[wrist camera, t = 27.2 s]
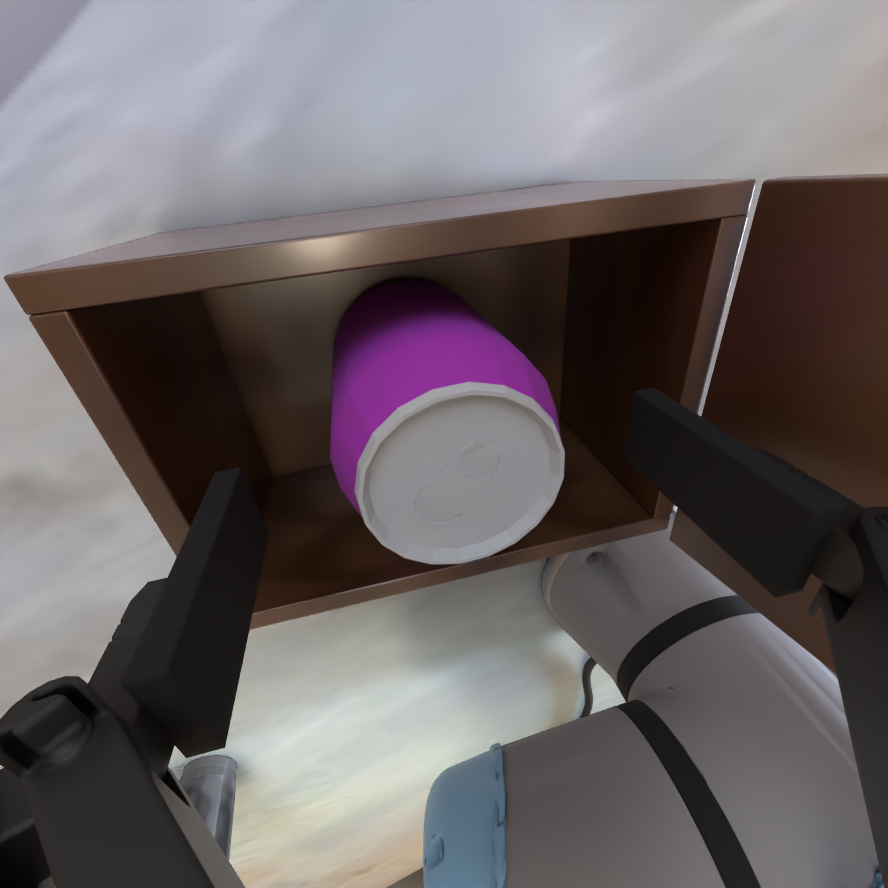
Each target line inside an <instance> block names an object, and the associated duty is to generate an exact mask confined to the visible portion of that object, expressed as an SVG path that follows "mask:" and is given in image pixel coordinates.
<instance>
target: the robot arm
mask: <svg viewBox="0 0 888 888" xmlns="http://www.w3.org/2000/svg"><path fill="white" fill-rule="evenodd" d="M624 458H625V459H626V460H627V461H628V462H629V463H630V464H631V465H632V466H633V467H634V468H635V469H636V470H638V471H639V472H640V473H641V474H642V475H643V476H644V477H645V478H646V479H647V480H648V481H649V482H651V483H652V484H653V485H654V486H655V487H656V488H657V489H658V490H659V491H660V492H661V493H662V494H663V495H665V496H666V497H667V498H668V499H669V500H670V501H671V502H672V503H673V504H674V507H673V511H672V514H671V518H670V522H669V526H668V528H667V529H665V530H661V531H657V532H653V533H648V534H644V535H640V536H636V537H632V538H628V539H624V540H619V541H615V542H611V543H607V544H603V545H599V546H595V547H590V548H586V549H582V550H578V551H574V552H570V553H566V554H561V555H557V556H553V557H550V558H549V560H548V562H547V564H546V567H545V570H544V573H543V577H542V592H543V596H544V599H545V601H546V603H547V605H548V607H549V609H550V611H551V613H552V615H553V616H554V618H555V619H556V620H557V622H558V623H559V624H560V626H561V627H562V628H563V629H564V630H565V631H566V632H567V633H568V634H569V635H570V636H571V637H572V638H573V639H574V640H575V641H576V642H577V643H578V644H579V645H580V646H581V647H582V648H583V649H584V650H585V651H586V652H587V653H588V654H589V655H590V656H591V657H590V658H589V659H588V660H587V662H586V664H585V666H584V670H583V675H582V681H583V687H584V692H585V706H584V709H583V712H582V714H581V716H580V718H579V719H577V720H574V721H571V722H568V723H566V724H563V725H560V726H557V727H554V728H551V729H549V730H546V731H543V732H540V733H537V734H534V735H531V736H529V737H526V738H523V739H520V740H517V741H514V742H511V743H509V744H506V745H503V746H501V745H500V744H499V743H497V744H494V745H492V746H491V747H490V750H489V751H487V752H485V753H483V754H480V755H478V756H475V757H473V758H471V759H468V760H466V761H464V762H461V763H459V764H456V765H454V766H452V767H449V768H448V769H446V770H445V771H443V772H442V773H441V774H440V775H439V776H438V777H437V779H436V780H435V782H434V783H433V785H432V787H431V790H430V793H429V796H428V799H427V804H426V809H425V820H424V839H423V871H424V888H888V507H878V506H876V507H869V508H864V507H862V506H860V505H859V504H857V503H855V502H854V501H852V500H850V499H849V498H847V497H845V496H844V495H842V494H840V493H839V492H837V491H835V490H834V489H832V488H830V487H829V486H827V485H825V484H824V483H822V482H820V481H818V480H817V479H815V478H813V477H809V476H808V474H807V473H805V472H803V471H802V470H800V469H798V468H794V466H793V465H792V464H790V463H788V462H787V461H785V460H783V459H782V458H780V457H778V456H777V455H774V454H771V453H768V452H766V451H763V450H760V449H757V448H751V447H749V446H748V445H746V444H745V443H743V442H741V441H740V440H738V439H736V438H735V437H733V436H731V435H730V434H728V433H727V432H725V431H723V430H722V429H720V428H718V427H717V426H715V425H714V424H712V423H710V422H709V421H707V420H705V419H704V418H702V417H701V416H699V415H697V414H696V413H694V412H692V411H691V410H689V409H688V408H686V407H684V406H683V405H681V404H679V403H678V402H676V401H675V400H673V399H671V398H670V397H668V396H666V395H665V394H663V393H662V392H660V391H658V390H657V389H655V388H650V389H645V390H640V391H635V392H634V393H633V400H632V406H631V413H630V420H629V427H628V434H627V441H626V448H625V454H624ZM677 508H679V509H680V510H681V511H682V512H683V513H684V514H685V515H686V516H687V517H688V518H689V519H690V520H692V521H693V522H694V523H695V524H696V525H697V526H698V527H699V528H700V529H701V530H702V531H703V532H705V533H706V534H707V535H708V536H709V537H710V538H711V539H712V540H713V541H714V542H715V543H716V544H718V545H719V546H720V547H721V548H722V549H723V550H724V551H725V552H726V553H727V554H728V555H729V556H730V557H732V558H733V559H734V560H735V561H736V562H737V563H738V564H739V565H740V566H741V567H742V568H743V569H745V570H746V571H747V572H748V573H749V574H750V575H751V576H752V577H753V578H754V579H755V580H756V581H757V582H759V583H760V584H761V585H762V586H763V587H764V588H765V589H766V590H767V591H768V592H769V593H770V594H772V595H773V596H774V597H775V598H777V597H781V596H784V595H788V594H792V593H795V592H799V591H802V590H803V588H804V586H805V584H806V582H807V580H808V578H809V576H810V574H811V573H812V574H813V575H814V576H816V577H817V578H818V579H819V580H820V581H822V582H823V583H822V585H821V587H820V589H819V591H818V592H817V594H816V596H815V598H814V600H813V602H812V604H811V605H810V607H809V611H808V615H810V616H814V615H815V613H816V611H817V610H818V608H820V607H822V611H823V616H822V619H824V620H825V624H826V629H827V633H828V638H829V642H830V647H831V651H832V656H833V660H834V665H835V669H836V674H837V675H836V674H835V673H834V672H833V671H831V670H830V669H829V668H828V667H826V666H825V665H824V664H823V663H821V662H820V661H819V660H818V659H817V658H815V657H814V656H813V655H812V654H810V653H809V652H808V651H807V650H805V649H804V648H803V647H802V646H800V645H799V644H798V643H797V642H795V641H794V640H793V639H792V638H790V637H789V636H788V635H787V634H785V633H784V632H783V631H782V630H780V629H779V628H778V627H777V626H776V625H774V624H773V623H772V622H771V621H769V620H768V619H767V618H766V617H764V616H763V615H762V614H761V613H759V612H758V611H757V610H756V609H754V608H753V607H752V606H751V605H749V604H748V603H747V602H746V601H744V600H743V599H742V598H741V597H740V596H738V595H737V594H736V593H735V592H733V591H732V590H731V589H730V588H728V587H727V586H726V585H725V584H723V583H722V582H721V581H720V580H718V579H717V578H716V577H715V576H713V575H712V574H711V573H710V572H708V571H707V570H706V569H705V568H703V567H702V566H701V565H700V564H699V563H697V562H696V561H695V560H694V559H692V558H691V557H690V556H689V555H687V554H686V553H685V552H684V551H682V550H681V549H680V548H679V547H677V546H676V545H675V544H674V543H672V542H671V541H670V539H669V538H670V535H671V531H672V527H673V523H674V519H675V515H676V512H677ZM268 537H269V532H268V530H267V527H266V525H265V522H264V520H263V518H262V515H261V513H260V511H259V508H258V506H257V504H256V501H255V499H254V497H253V494H252V492H251V490H250V487H249V485H248V482H247V480H246V478H245V475H244V473H243V471H242V468H241V467H240V468H234V469H229V470H224V471H219V472H215V473H214V476H213V478H212V480H211V482H210V484H209V487H208V489H207V491H206V493H205V496H204V498H203V500H202V502H201V505H200V507H199V509H198V511H197V513H196V516H195V518H194V520H193V522H192V525H191V527H190V529H189V531H188V534H187V536H186V538H185V540H184V542H183V545H182V547H181V549H180V551H179V554H178V556H177V558H176V560H175V563H174V565H173V567H172V569H171V571H170V574H169V576H168V578H164V579H160V580H155V581H151V582H148V583H147V584H146V585H145V586H144V587H143V588H142V589H141V590H140V591H139V593H138V594H137V595H136V596H135V597H134V598H133V599H132V600H131V601H130V603H129V605H128V607H127V609H126V611H125V613H124V615H123V617H122V619H121V624H120V625H118V626H117V628H116V630H115V632H114V634H113V636H112V641H111V642H109V644H108V646H107V648H106V650H105V652H104V654H103V656H102V658H101V660H100V661H99V663H98V665H97V667H96V669H95V671H94V673H93V675H92V677H91V679H90V681H89V683H88V684H87V683H86V682H85V681H84V680H82V679H81V678H80V677H77V676H65V677H62V678H58V679H55V680H52V681H49V682H47V683H45V684H43V685H42V686H40V687H38V688H36V689H35V690H33V691H31V692H29V693H28V694H27V695H26V696H24V697H23V698H22V699H21V700H19V701H18V702H17V703H16V704H14V705H13V706H12V707H11V708H10V709H9V710H8V711H7V712H6V714H5V715H4V716H3V717H2V718H1V719H0V765H2V766H3V767H5V768H3V769H1V770H0V888H245V886H244V885H243V883H242V881H241V880H240V878H239V877H238V875H237V873H236V872H235V870H234V869H233V867H232V865H231V864H230V862H229V861H228V859H227V857H226V856H225V854H224V853H223V851H222V849H221V848H220V846H219V845H218V843H217V841H216V840H215V838H214V837H213V835H212V833H211V832H210V830H209V829H208V827H207V825H206V824H205V822H204V821H203V819H202V817H201V816H200V814H199V813H198V811H197V809H196V808H195V806H194V805H193V803H192V801H191V800H190V798H189V797H188V795H187V793H186V792H185V790H184V789H183V787H182V785H181V784H180V782H179V781H178V779H177V777H176V776H175V774H174V773H173V772H172V771H171V769H170V768H169V767H168V765H169V761H170V758H171V755H172V751H173V748H174V745H175V746H176V747H177V748H178V749H179V750H180V752H181V753H182V754H183V755H184V756H185V757H186V758H188V757H192V756H196V755H199V754H203V753H207V752H210V751H214V750H218V749H221V748H225V745H226V740H227V735H228V730H229V725H230V720H231V716H232V711H233V706H234V701H235V696H236V691H237V687H238V682H239V677H240V672H241V667H242V663H243V658H244V653H245V648H246V643H247V638H248V634H249V629H250V624H251V619H252V614H253V609H254V605H255V600H256V595H257V590H258V585H259V581H260V576H261V571H262V566H263V561H264V556H265V552H266V547H267V542H268ZM597 663H598V664H599V665H600V666H601V667H602V668H603V669H604V670H605V671H606V672H607V673H608V674H609V675H610V676H611V677H612V679H613V680H614V682H615V683H616V685H617V687H618V688H619V690H620V692H621V694H622V696H623V697H624V699H625V701H626V703H623V704H620V705H618V706H614V707H611V708H608V709H606V710H603V711H600V712H597V713H594V714H591V715H590V713H591V709H592V704H593V695H592V689H591V682H590V676H591V672H592V669H593V668H594V666H595V665H596V664H597Z"/></svg>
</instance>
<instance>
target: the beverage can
mask: <svg viewBox="0 0 888 888" xmlns="http://www.w3.org/2000/svg"><path fill="white" fill-rule="evenodd" d="M330 459H331V462H332V465H333V468H334V471H335V474H336V477H337V480H338V483H339V486H340V489H341V490H342V491H343V493H344V494H345V495H346V497H347V498H348V499H349V501H350V502H351V503H352V505H353V506H354V507H355V509H356V510H357V511H358V513H359V514H360V515H361V517H362V518H363V520H364V522H365V525H366V526H367V527H368V529H369V530H370V531H371V532H372V533H373V535H374V536H375V537H376V538H377V539H378V541H379V542H380V543H381V544H382V545H383V546H385V547H386V548H388V549H390V550H392V551H393V552H395V553H397V554H399V555H400V556H402V557H404V558H406V559H410V560H415V561H419V562H424V563H428V564H461V563H465V562H469V561H473V560H477V559H481V558H485V557H489V556H491V555H493V554H495V553H497V552H499V551H501V550H503V549H505V548H507V547H509V546H511V545H513V544H515V543H516V542H517V541H518V540H520V539H521V538H522V537H523V536H525V535H526V534H527V533H528V532H529V531H531V530H532V529H533V528H534V527H536V526H537V525H538V524H539V522H540V521H541V520H542V518H543V517H544V516H545V514H546V513H547V512H548V510H549V509H550V508H551V506H552V505H553V504H554V502H555V499H556V497H557V494H558V492H559V489H560V486H561V484H562V481H563V479H564V460H565V451H564V448H563V445H562V442H561V436H560V430H559V423H558V417H557V411H556V407H555V404H554V401H553V398H552V395H551V393H550V390H549V387H548V384H547V381H546V379H545V378H544V377H543V376H542V375H541V373H540V372H539V371H538V370H537V369H536V368H535V367H534V366H533V364H532V363H531V362H530V361H529V360H528V359H527V358H526V356H525V355H524V354H523V353H521V352H520V351H519V350H518V349H517V348H516V347H515V346H514V345H513V344H512V343H510V342H509V341H508V340H507V339H506V338H505V337H504V336H503V335H502V334H501V333H499V332H498V331H497V330H496V329H495V328H494V327H493V326H492V325H491V324H490V323H488V322H487V321H486V320H485V319H484V318H483V317H482V316H481V315H480V314H479V313H477V312H476V311H475V310H474V309H473V308H472V307H471V306H470V305H469V304H468V303H466V302H465V301H464V300H463V299H462V298H461V297H460V296H458V295H456V294H455V293H453V292H451V291H449V290H447V289H445V288H443V287H442V286H440V285H438V284H436V283H432V282H426V281H420V280H413V279H405V280H400V281H394V282H388V283H384V284H382V285H380V286H378V287H376V288H375V289H373V290H371V291H369V292H367V293H366V294H364V295H362V296H361V297H360V298H359V299H358V300H357V302H356V303H355V304H354V305H353V306H352V307H351V308H350V309H349V311H348V312H347V313H346V314H345V316H344V318H343V321H342V323H341V325H340V328H339V330H338V332H337V335H336V337H335V340H334V349H333V366H332V407H331V447H330Z"/></svg>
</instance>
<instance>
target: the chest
mask: <svg viewBox="0 0 888 888" xmlns="http://www.w3.org/2000/svg"><path fill="white" fill-rule="evenodd" d="M755 185H756V180H755V179H717V180H633V181H578V182H570V183H561V184H553V185H545V186H537V187H529V188H520V189H512V190H504V191H496V192H488V193H479V194H471V195H463V196H455V197H447V198H438V199H430V200H422V201H414V202H406V203H397V204H389V205H381V206H373V207H365V208H356V209H348V210H340V211H332V212H324V213H316V214H307V215H299V216H291V217H283V218H275V219H266V220H258V221H250V222H242V223H234V224H225V225H217V226H209V227H201V228H193V229H184V230H176V231H168V232H161V233H157V234H154V235H150V236H146V237H143V238H139V239H136V240H132V241H128V242H125V243H121V244H117V245H114V246H110V247H107V248H103V249H99V250H96V251H92V252H88V253H85V254H81V255H78V256H74V257H70V258H67V259H63V260H60V261H56V262H52V263H49V264H45V265H41V266H38V267H34V268H31V269H27V270H23V271H20V272H16V273H12V274H9V275H6V276H5V277H4V279H5V281H6V283H7V284H8V286H9V288H10V289H11V291H12V292H13V294H14V296H15V297H16V299H17V300H18V302H19V304H20V305H21V307H22V308H23V310H24V312H25V313H26V314H28V315H31V316H30V317H29V319H30V321H31V323H32V324H33V326H34V327H35V329H36V331H37V332H38V334H39V335H40V337H41V339H42V340H43V342H44V343H45V345H46V347H47V348H48V350H49V352H50V353H51V355H52V356H53V358H54V360H55V361H56V363H57V364H58V366H59V368H60V369H61V371H62V372H63V374H64V376H65V377H66V379H67V380H68V382H69V384H70V385H71V387H72V389H73V390H74V392H75V393H76V395H77V397H78V398H79V400H80V401H81V403H82V405H83V406H84V408H85V409H86V411H87V413H88V414H89V416H90V418H91V419H92V421H93V422H94V424H95V426H96V427H97V429H98V430H99V432H100V434H101V435H102V437H103V438H104V440H105V442H106V443H107V445H108V447H109V448H110V450H111V451H112V453H113V455H114V456H115V458H116V459H117V461H118V463H119V464H120V466H121V467H122V469H123V471H124V472H125V474H126V476H127V477H128V479H129V480H130V482H131V484H132V485H133V487H134V488H135V490H136V492H137V493H138V495H139V496H140V498H141V500H142V501H143V503H144V505H145V506H146V508H147V509H148V511H149V513H150V514H151V516H152V517H153V519H154V521H155V522H156V524H157V525H158V527H159V529H160V530H161V532H162V534H163V535H164V537H165V538H166V540H167V542H168V543H169V545H170V546H171V548H172V550H173V551H174V553H175V554H176V556H178V554H179V551H180V549H181V547H182V545H183V542H184V540H185V538H186V536H187V534H188V531H189V529H190V527H191V525H192V522H193V520H194V518H195V516H196V513H197V511H198V509H199V507H200V505H201V502H202V500H203V498H204V496H205V493H206V491H207V489H208V487H209V484H210V482H211V480H212V478H213V476H214V473H215V472H219V471H224V470H229V469H234V468H240V467H241V468H242V471H243V473H244V475H245V478H246V480H247V482H248V485H249V487H250V490H251V492H252V494H253V497H254V499H255V501H256V504H257V506H258V508H259V511H260V513H261V515H262V518H263V520H264V522H265V525H266V527H267V530H268V532H269V537H268V542H267V547H266V552H265V556H264V561H263V566H262V571H261V576H260V581H259V585H258V590H257V595H256V600H255V605H254V609H253V614H252V619H251V624H250V629H249V630H251V629H255V628H259V627H263V626H267V625H271V624H276V623H280V622H284V621H288V620H292V619H296V618H300V617H305V616H309V615H313V614H317V613H321V612H325V611H329V610H334V609H338V608H342V607H346V606H350V605H354V604H358V603H363V602H367V601H371V600H375V599H379V598H383V597H387V596H392V595H396V594H400V593H404V592H408V591H412V590H416V589H421V588H425V587H429V586H433V585H437V584H441V583H445V582H450V581H454V580H458V579H462V578H466V577H470V576H474V575H479V574H483V573H487V572H491V571H495V570H499V569H503V568H508V567H512V566H516V565H520V564H524V563H528V562H532V561H537V560H541V559H545V558H549V557H553V556H557V555H561V554H566V553H570V552H574V551H578V550H582V549H586V548H590V547H595V546H599V545H603V544H607V543H611V542H615V541H619V540H624V539H628V538H632V537H636V536H640V535H644V534H648V533H653V532H657V531H661V530H665V529H667V528H668V526H669V522H670V518H671V514H672V511H673V507H674V504H673V503H672V502H671V501H670V500H669V499H668V498H667V497H666V496H665V495H663V494H662V493H661V492H660V491H659V490H658V489H657V488H656V487H655V486H654V485H653V484H652V483H651V482H649V481H648V480H647V479H646V478H645V477H644V476H643V475H642V474H641V473H640V472H639V471H638V470H636V469H635V468H634V467H633V466H632V465H631V464H630V463H629V462H628V461H627V460H626V459H625V458H624V454H625V448H626V441H627V434H628V427H629V420H630V413H631V406H632V400H633V393H634V392H635V391H640V390H645V389H650V388H655V389H657V390H658V391H660V392H662V393H663V394H665V395H666V396H668V397H670V398H671V399H673V400H675V401H676V402H678V403H679V404H681V405H683V406H684V407H686V408H688V409H689V410H691V411H692V412H694V413H696V414H697V413H698V410H699V406H700V402H701V398H702V394H703V390H704V386H705V382H706V378H707V374H708V370H709V367H710V363H711V359H712V355H713V351H714V347H715V343H716V339H717V335H718V331H719V327H720V323H721V320H722V316H723V312H724V308H725V304H726V300H727V296H728V292H729V288H730V284H731V280H732V277H733V273H734V269H735V265H736V261H737V257H738V253H739V249H740V245H741V241H742V237H743V233H744V230H745V226H746V222H747V218H748V216H747V215H745V214H748V212H749V209H750V205H751V201H752V197H753V193H754V189H755ZM405 279H413V280H420V281H426V282H432V283H436V284H438V285H440V286H442V287H443V288H445V289H447V290H449V291H451V292H453V293H455V294H456V295H458V296H460V297H461V298H462V299H463V300H464V301H465V302H466V303H468V304H469V305H470V306H471V307H472V308H473V309H474V310H475V311H476V312H477V313H479V314H480V315H481V316H482V317H483V318H484V319H485V320H486V321H487V322H488V323H490V324H491V325H492V326H493V327H494V328H495V329H496V330H497V331H498V332H499V333H501V334H502V335H503V336H504V337H505V338H506V339H507V340H508V341H509V342H510V343H512V344H513V345H514V346H515V347H516V348H517V349H518V350H519V351H520V352H521V353H523V354H524V355H525V356H526V358H527V359H528V360H529V361H530V362H531V363H532V364H533V366H534V367H535V368H536V369H537V370H538V371H539V372H540V373H541V375H542V376H543V377H544V378H545V379H546V381H547V384H548V387H549V390H550V393H551V395H552V398H553V401H554V404H555V407H556V411H557V417H558V423H559V430H560V436H561V442H562V445H563V448H564V451H565V460H564V479H563V481H562V484H561V486H560V489H559V492H558V494H557V497H556V499H555V502H554V504H553V505H552V506H551V508H550V509H549V510H548V512H547V513H546V514H545V516H544V517H543V518H542V520H541V521H540V522H539V524H538V525H537V526H536V527H534V528H533V529H532V530H531V531H529V532H528V533H527V534H526V535H525V536H523V537H522V538H521V539H520V540H518V541H517V542H516V543H515V544H513V545H511V546H509V547H507V548H505V549H503V550H501V551H499V552H497V553H495V554H493V555H491V556H489V557H485V558H481V559H477V560H473V561H469V562H465V563H461V564H428V563H424V562H419V561H415V560H410V559H406V558H404V557H402V556H400V555H399V554H397V553H395V552H393V551H392V550H390V549H388V548H386V547H385V546H383V545H382V544H381V543H380V542H379V541H378V539H377V538H376V537H375V536H374V535H373V533H372V532H371V531H370V530H369V529H368V527H367V526H366V525H365V522H364V520H363V518H362V517H361V515H360V514H359V513H358V511H357V510H356V509H355V507H354V506H353V505H352V503H351V502H350V501H349V499H348V498H347V497H346V495H345V494H344V493H343V491H342V490H341V489H340V486H339V483H338V480H337V477H336V474H335V471H334V468H333V465H332V462H331V459H330V447H331V407H332V366H333V349H334V340H335V337H336V335H337V332H338V330H339V328H340V325H341V323H342V321H343V318H344V316H345V314H346V313H347V312H348V311H349V309H350V308H351V307H352V306H353V305H354V304H355V303H356V302H357V300H358V299H359V298H360V297H361V296H362V295H364V294H366V293H367V292H369V291H371V290H373V289H375V288H376V287H378V286H380V285H382V284H384V283H388V282H394V281H400V280H405Z"/></svg>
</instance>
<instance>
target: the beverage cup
mask: <svg viewBox="0 0 888 888" xmlns="http://www.w3.org/2000/svg"><path fill="white" fill-rule="evenodd" d="M236 768H237V764H236V762H235V761H234V760H233V759H231V758H228V757H224V756H208V757H202V758H199V759H196V760H194V761H192V762H190V763H188V764H187V765H186V766H185V767H184V771H183V775H182V777H181V779H180V784H181V785H182V787H183V789H184V790H185V792H186V793H187V795H188V797H189V798H190V800H191V801H192V803H193V805H194V806H195V808H196V809H197V811H198V813H199V814H200V816H201V817H202V819H203V821H204V822H205V824H206V825H207V827H208V829H209V830H210V832H211V833H212V835H213V837H214V838H215V840H216V841H217V843H218V845H219V846H220V848H221V849H222V851H223V853H224V854H225V856H226V857H227V859H228V861H229V855H230V844H231V833H232V822H233V811H234V800H235V789H236V783H235V781H236Z"/></svg>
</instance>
